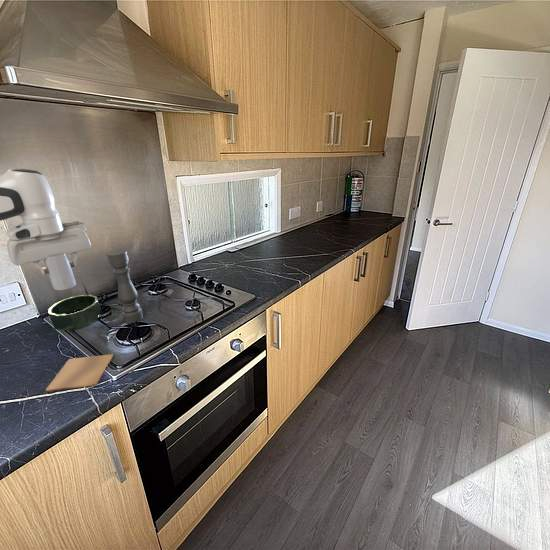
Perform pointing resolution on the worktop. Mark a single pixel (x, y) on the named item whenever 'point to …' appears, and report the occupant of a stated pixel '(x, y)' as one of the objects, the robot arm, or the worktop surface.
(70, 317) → the bowl
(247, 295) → the worktop surface
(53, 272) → the cup
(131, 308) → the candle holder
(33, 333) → the worktop surface
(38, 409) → the worktop surface
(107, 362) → the mat
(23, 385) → the worktop surface
